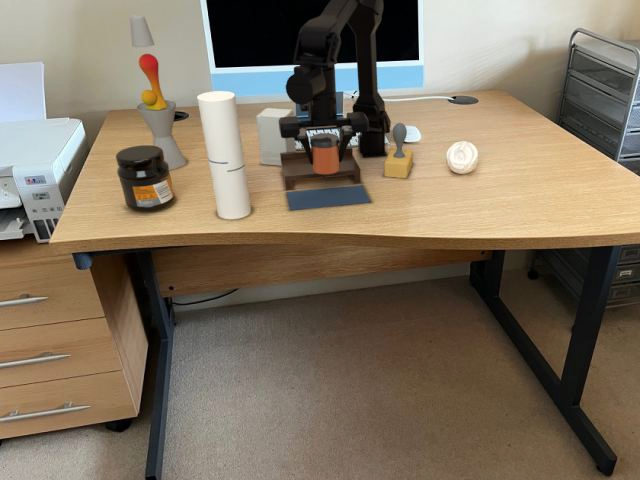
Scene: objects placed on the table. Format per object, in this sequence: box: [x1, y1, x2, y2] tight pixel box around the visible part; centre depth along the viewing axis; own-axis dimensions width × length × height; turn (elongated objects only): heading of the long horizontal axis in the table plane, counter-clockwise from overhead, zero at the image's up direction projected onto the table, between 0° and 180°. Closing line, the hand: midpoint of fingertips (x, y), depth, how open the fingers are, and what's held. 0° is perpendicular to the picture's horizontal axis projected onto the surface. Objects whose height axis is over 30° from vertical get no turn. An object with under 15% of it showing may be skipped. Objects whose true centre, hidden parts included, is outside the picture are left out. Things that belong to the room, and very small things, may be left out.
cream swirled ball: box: [445, 140, 480, 175], centre depth 143 cm, size 8×8×8 cm
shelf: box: [280, 146, 362, 191], centre depth 141 cm, size 18×11×5 cm, turn 103°
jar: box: [309, 132, 340, 174], centre depth 127 cm, size 6×6×7 cm
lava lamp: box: [129, 14, 187, 171], centre depth 139 cm, size 9×9×35 cm
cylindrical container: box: [196, 90, 252, 220], centre depth 119 cm, size 7×7×25 cm
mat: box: [286, 184, 371, 211], centre depth 132 cm, size 18×9×1 cm, turn 103°
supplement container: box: [115, 144, 176, 213], centre depth 126 cm, size 10×10×12 cm
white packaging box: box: [255, 107, 297, 166], centre depth 148 cm, size 7×7×13 cm
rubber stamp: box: [383, 122, 414, 179], centre depth 143 cm, size 10×6×12 cm, turn 169°
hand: (325, 162), depth 128 cm, fingers closed on jar, 6 cm apart
